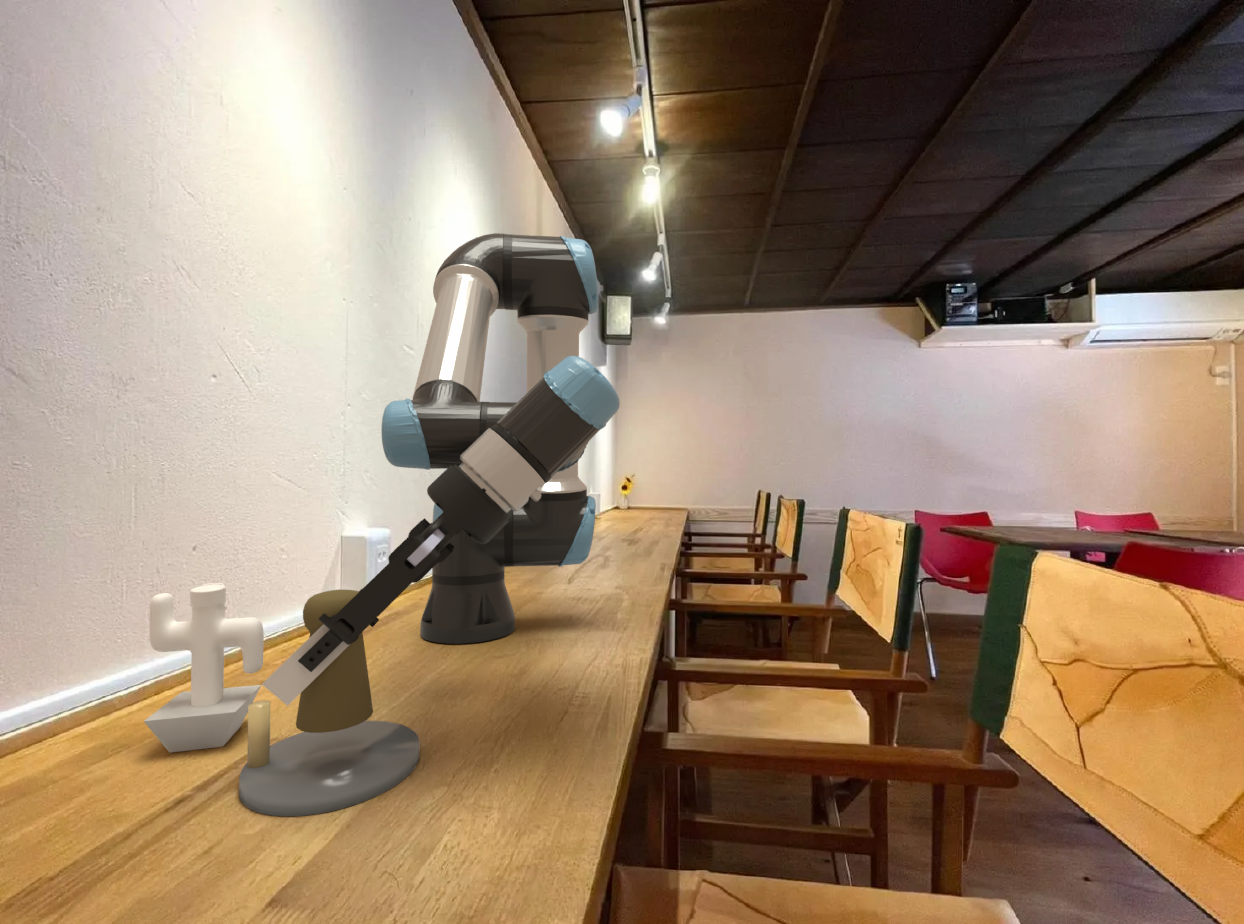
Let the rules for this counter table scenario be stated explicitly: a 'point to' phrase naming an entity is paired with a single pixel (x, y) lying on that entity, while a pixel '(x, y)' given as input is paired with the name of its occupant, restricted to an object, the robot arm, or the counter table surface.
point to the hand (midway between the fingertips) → (288, 680)
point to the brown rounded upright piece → (335, 676)
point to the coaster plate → (322, 765)
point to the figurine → (204, 669)
